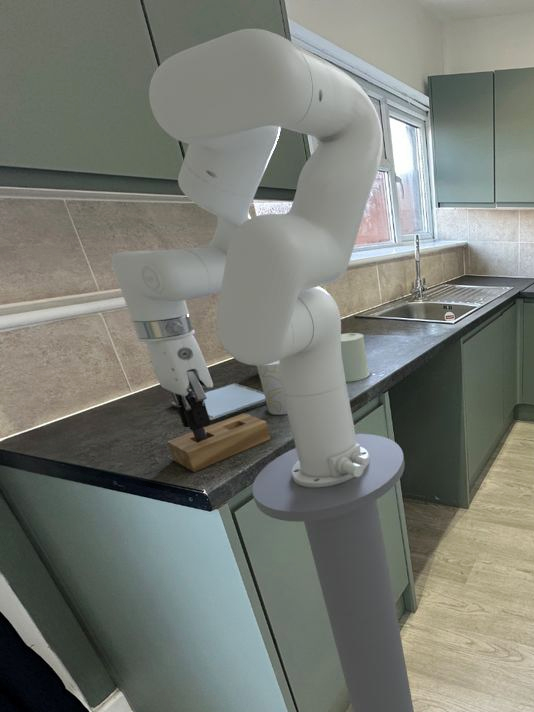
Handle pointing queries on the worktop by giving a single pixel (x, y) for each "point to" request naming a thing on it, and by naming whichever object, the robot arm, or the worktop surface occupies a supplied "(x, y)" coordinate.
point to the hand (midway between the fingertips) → (197, 425)
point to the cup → (272, 387)
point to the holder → (219, 441)
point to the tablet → (231, 401)
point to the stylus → (199, 432)
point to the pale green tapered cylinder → (354, 357)
